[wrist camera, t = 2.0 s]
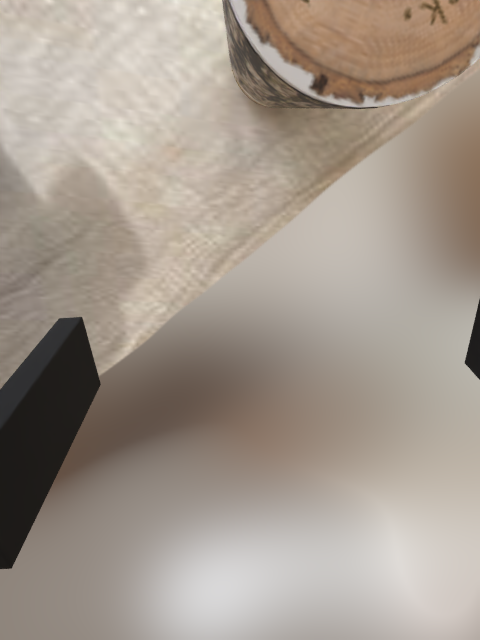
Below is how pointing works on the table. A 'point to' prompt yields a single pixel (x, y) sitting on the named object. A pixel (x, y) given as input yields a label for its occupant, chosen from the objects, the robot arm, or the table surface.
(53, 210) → the table surface
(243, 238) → the table surface
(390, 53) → the paper tube
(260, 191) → the table surface
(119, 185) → the table surface
